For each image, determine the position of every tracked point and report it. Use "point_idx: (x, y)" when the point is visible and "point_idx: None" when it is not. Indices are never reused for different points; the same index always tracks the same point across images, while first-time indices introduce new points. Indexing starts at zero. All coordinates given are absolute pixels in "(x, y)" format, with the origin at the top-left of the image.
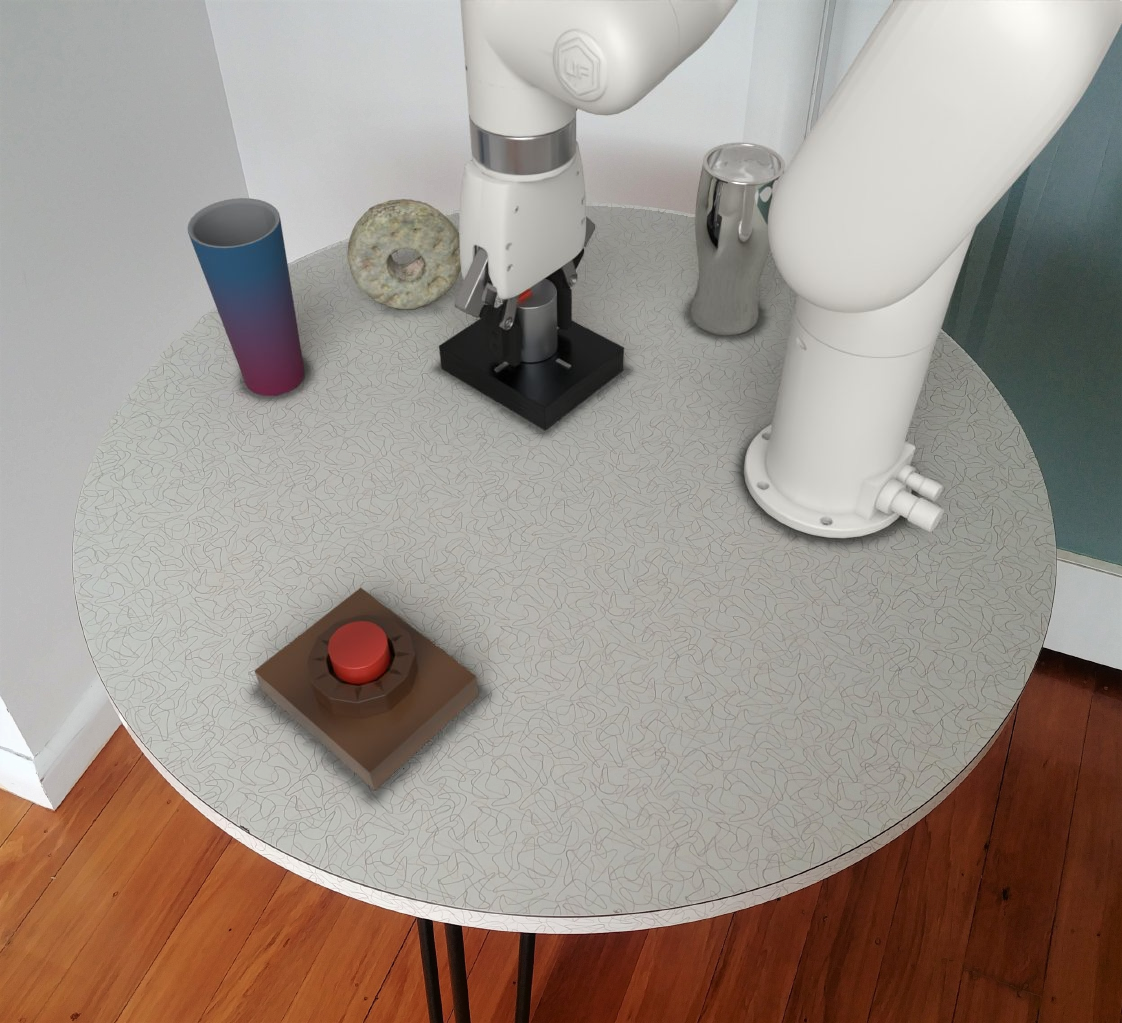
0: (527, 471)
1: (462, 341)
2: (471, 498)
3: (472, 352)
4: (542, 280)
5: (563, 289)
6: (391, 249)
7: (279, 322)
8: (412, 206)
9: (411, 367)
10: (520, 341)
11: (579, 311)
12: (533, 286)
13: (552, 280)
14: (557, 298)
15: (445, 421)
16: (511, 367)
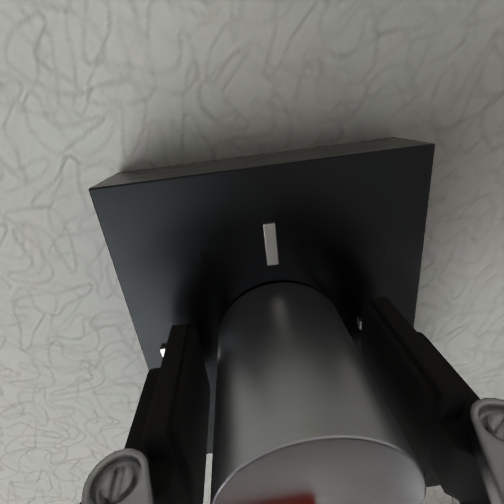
0: (113, 445)
1: (158, 217)
2: (11, 442)
3: (155, 269)
4: (409, 491)
5: (432, 473)
6: None
7: None
8: None
9: (52, 113)
10: (206, 446)
11: (483, 218)
12: (354, 501)
13: (446, 460)
14: (402, 429)
15: (46, 306)
16: None
